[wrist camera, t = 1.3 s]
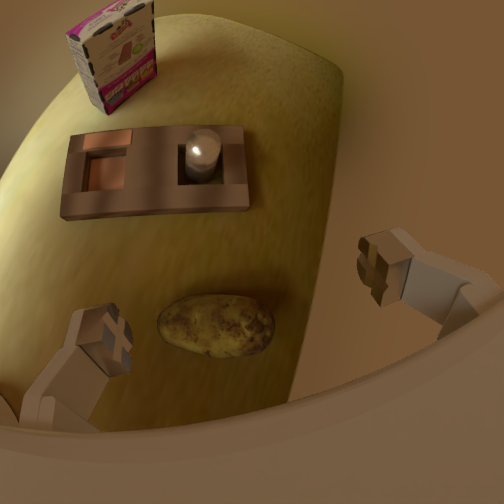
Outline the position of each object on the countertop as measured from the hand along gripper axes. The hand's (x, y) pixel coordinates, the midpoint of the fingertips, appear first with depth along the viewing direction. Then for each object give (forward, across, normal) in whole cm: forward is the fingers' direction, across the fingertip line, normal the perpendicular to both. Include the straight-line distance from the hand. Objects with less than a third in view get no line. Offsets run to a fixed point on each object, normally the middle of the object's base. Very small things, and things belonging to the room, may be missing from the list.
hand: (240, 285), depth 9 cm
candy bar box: (+42, +11, -7) cm, 44 cm away
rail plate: (+32, +8, +5) cm, 33 cm away
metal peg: (+32, +1, +7) cm, 32 cm away
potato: (+18, +5, +22) cm, 29 cm away
